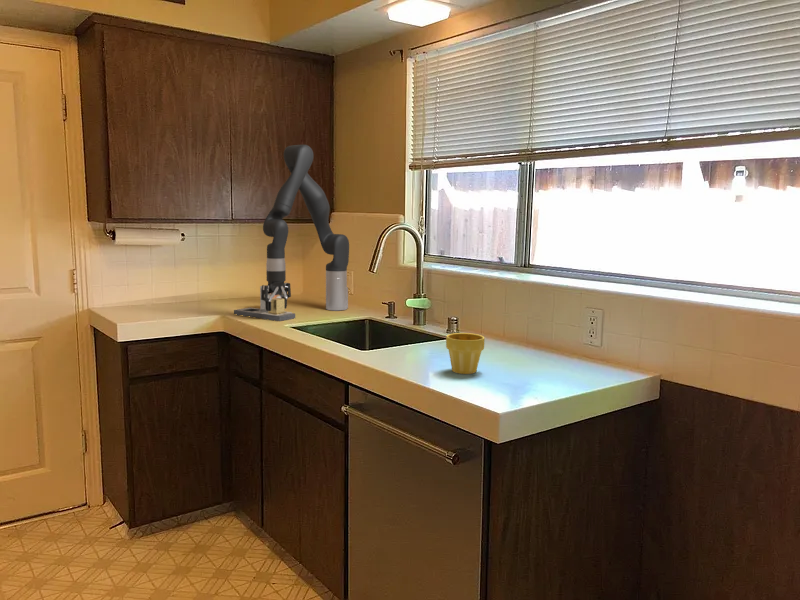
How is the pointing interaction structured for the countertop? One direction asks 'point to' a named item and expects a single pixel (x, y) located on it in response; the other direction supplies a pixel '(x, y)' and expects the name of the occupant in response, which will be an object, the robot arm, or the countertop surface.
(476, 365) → the plant pot
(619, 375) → the countertop surface
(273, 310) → the nut block
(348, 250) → the robot arm
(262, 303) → the small box
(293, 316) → the grey slotted board
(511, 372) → the countertop surface
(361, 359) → the countertop surface
